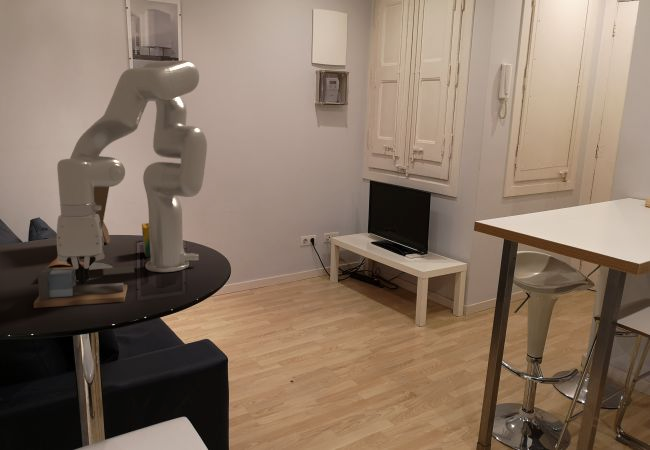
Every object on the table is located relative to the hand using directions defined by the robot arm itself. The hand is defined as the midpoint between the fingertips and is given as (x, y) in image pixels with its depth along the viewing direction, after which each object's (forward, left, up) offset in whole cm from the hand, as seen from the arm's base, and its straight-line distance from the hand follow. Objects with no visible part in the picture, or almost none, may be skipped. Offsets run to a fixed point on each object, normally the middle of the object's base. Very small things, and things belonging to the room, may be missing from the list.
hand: (83, 282), depth 131 cm
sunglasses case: (+9, -24, -5) cm, 26 cm away
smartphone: (-3, -21, -4) cm, 22 cm away
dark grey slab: (+8, 0, -3) cm, 9 cm away
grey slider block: (+5, 0, -2) cm, 5 cm away
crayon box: (-14, -40, -4) cm, 43 cm away
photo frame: (+4, -52, -4) cm, 52 cm away
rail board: (0, 0, -4) cm, 4 cm away
